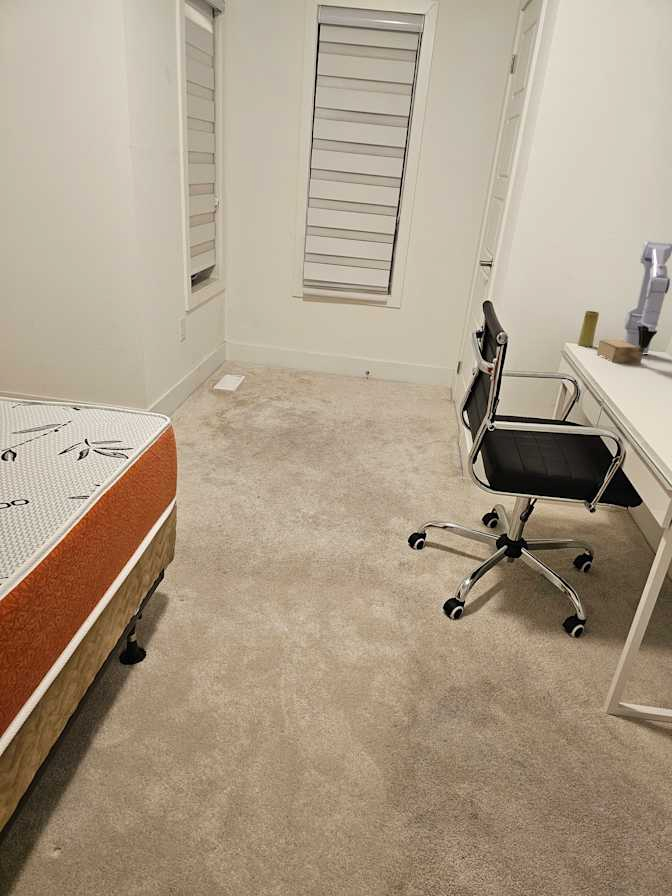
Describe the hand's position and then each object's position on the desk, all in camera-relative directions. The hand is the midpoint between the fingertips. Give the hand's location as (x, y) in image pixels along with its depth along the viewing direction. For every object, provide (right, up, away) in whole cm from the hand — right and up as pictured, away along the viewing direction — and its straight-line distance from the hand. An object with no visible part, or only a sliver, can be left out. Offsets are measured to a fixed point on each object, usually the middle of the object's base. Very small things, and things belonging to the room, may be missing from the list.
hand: (642, 346), depth 231 cm
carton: (-5, -3, +12) cm, 13 cm away
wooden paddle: (-4, -6, +4) cm, 8 cm away
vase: (-9, +6, +31) cm, 33 cm away
